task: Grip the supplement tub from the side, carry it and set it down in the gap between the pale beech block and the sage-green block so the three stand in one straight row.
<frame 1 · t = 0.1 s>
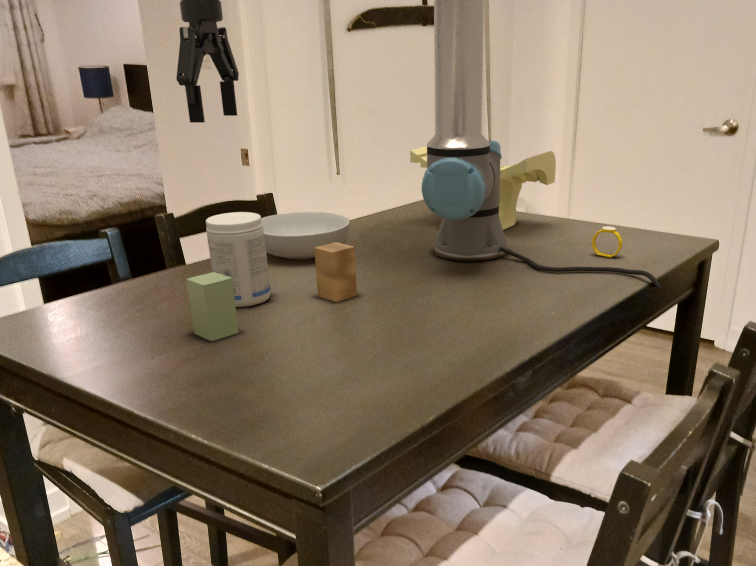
hand: (214, 119, 150), 28 cm above the table, tool pointing down, fingers open, 13 cm apart
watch: (605, 257, 157), on the table
beech block: (337, 296, 136), on the table
serving bowl: (303, 255, 163), on the table
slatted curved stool: (481, 226, 185), on the table
sage block: (216, 333, 120), on the table
supplement tub: (243, 301, 135), on the table
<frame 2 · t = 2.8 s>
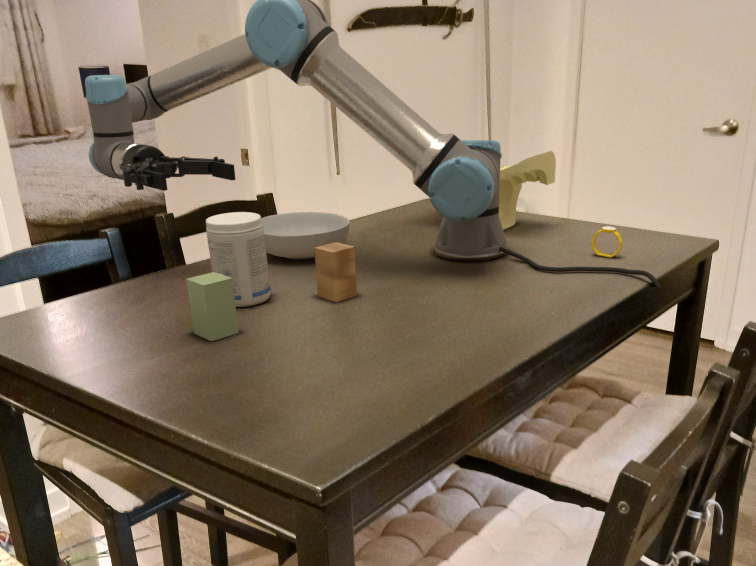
hand: (200, 177, 133), 20 cm above the table, tool horizontal, fingers open, 13 cm apart
nothing on the table moved.
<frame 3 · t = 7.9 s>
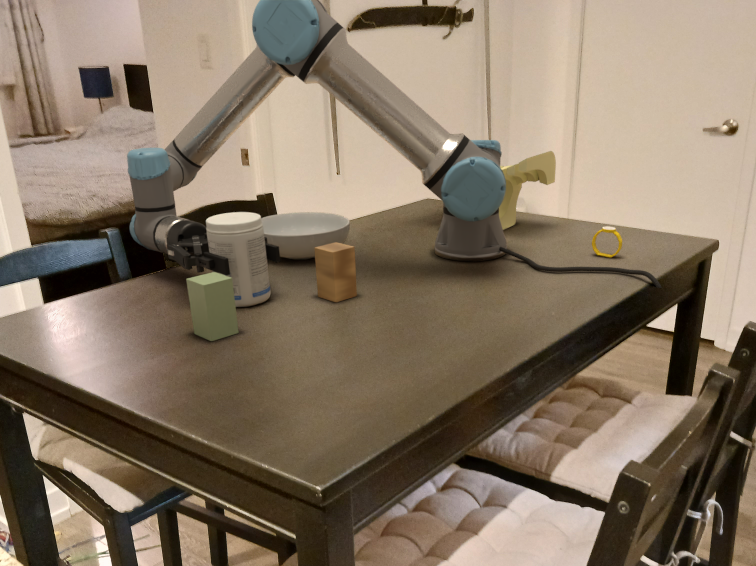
hand: (253, 260, 129), 8 cm above the table, tool horizontal, fingers closed on supplement tub, 10 cm apart
supplement tub: (243, 301, 135), on the table, touching gripper
everything else where it was.
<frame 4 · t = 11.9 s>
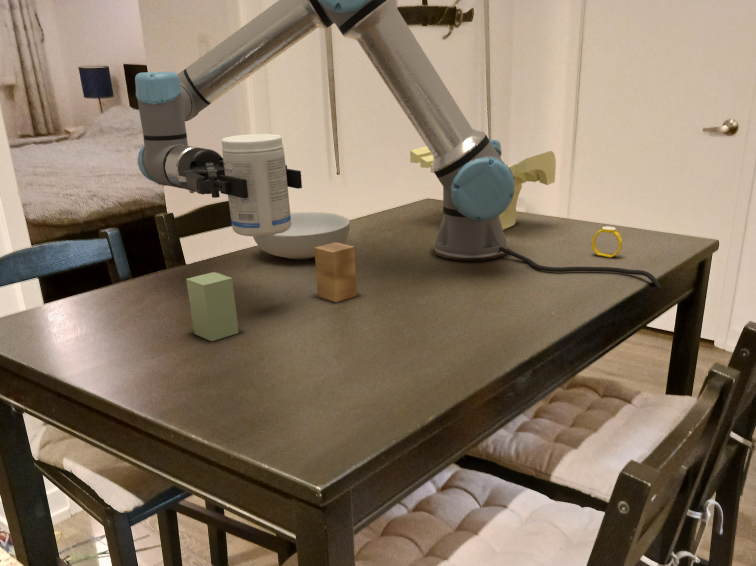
hand: (273, 184, 118), 22 cm above the table, tool horizontal, fingers closed on supplement tub, 10 cm apart
supplement tub: (261, 232, 125), point 13 cm above the table, touching gripper
everything else where it was.
when the fingers open (8 cm above the table, at t = 16.3 s): supplement tub stays where it is, on the table.
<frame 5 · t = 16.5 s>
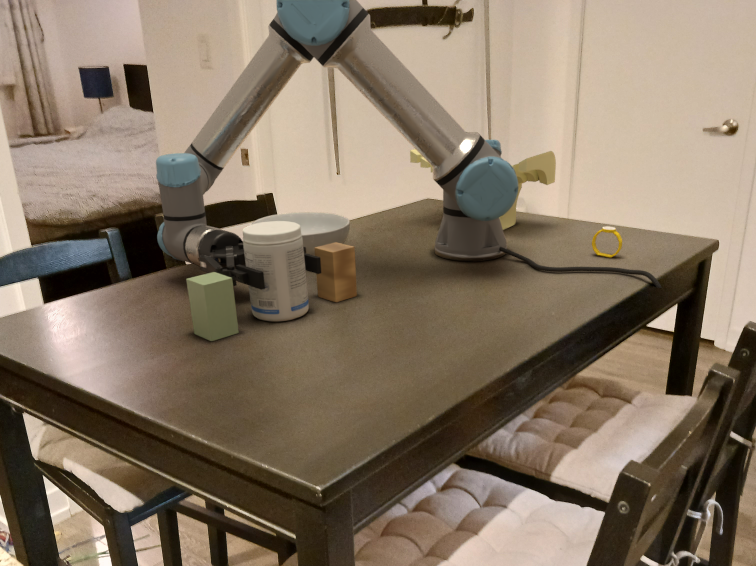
hand: (291, 273, 122), 8 cm above the table, tool horizontal, fingers open, 11 cm apart
supplement tub: (280, 314, 128), on the table
everything else where it was.
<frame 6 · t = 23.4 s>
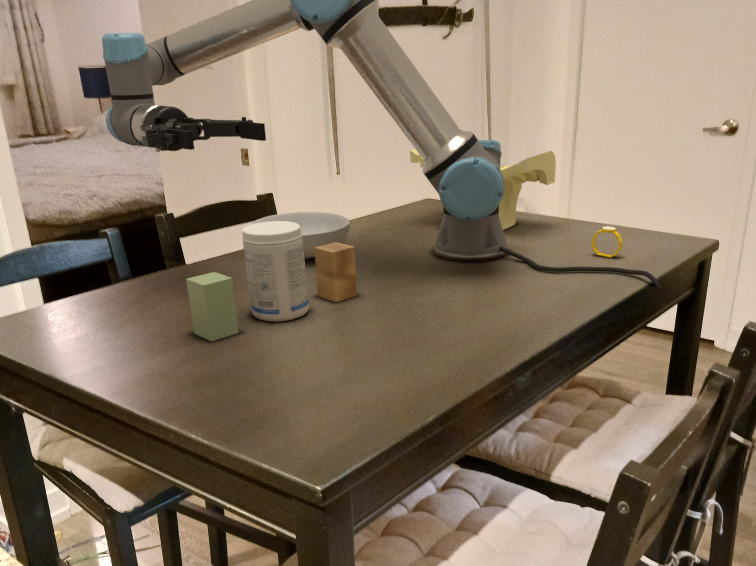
hand: (228, 136, 123), 28 cm above the table, tool horizontal, fingers open, 13 cm apart
nothing on the table moved.
at the end: supplement tub 0.0 cm from the target spot, on the table; supplement tub tilted 0°; sage block moved 0.0 cm from its start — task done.
